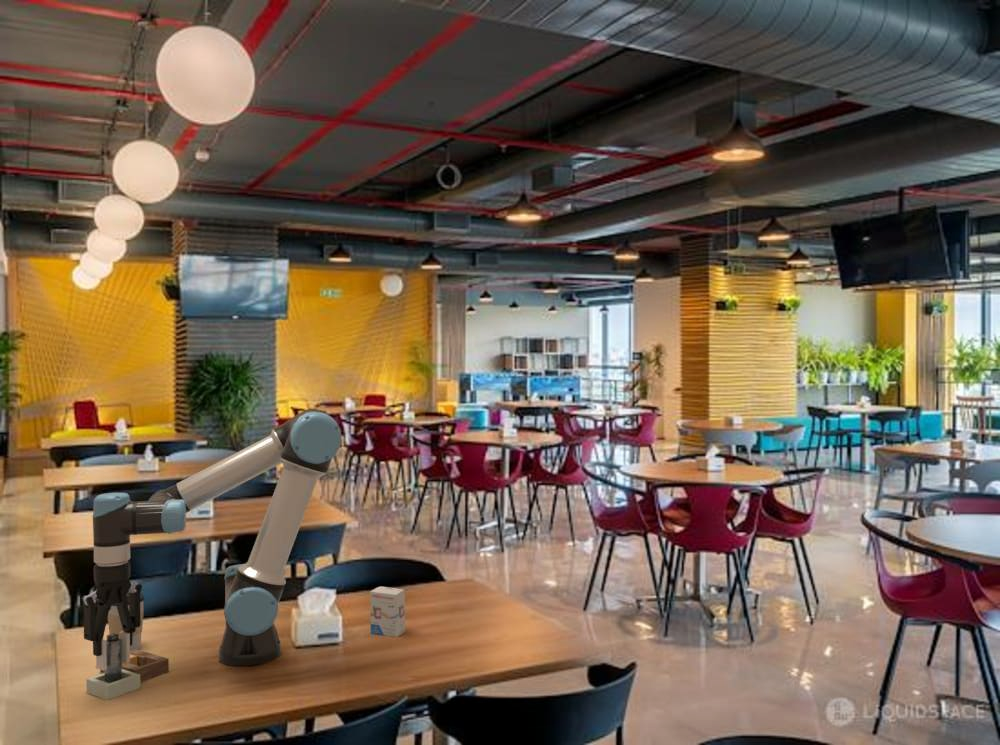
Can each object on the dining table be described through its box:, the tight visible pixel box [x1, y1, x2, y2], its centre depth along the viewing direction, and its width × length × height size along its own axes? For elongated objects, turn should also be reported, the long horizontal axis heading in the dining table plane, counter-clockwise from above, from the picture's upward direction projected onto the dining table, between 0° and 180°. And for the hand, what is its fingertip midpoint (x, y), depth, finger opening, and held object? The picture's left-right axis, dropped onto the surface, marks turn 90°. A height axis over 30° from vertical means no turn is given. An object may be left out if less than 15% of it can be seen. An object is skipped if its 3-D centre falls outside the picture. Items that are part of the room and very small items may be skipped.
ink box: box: [369, 586, 406, 638], centre depth 229 cm, size 9×5×12 cm, turn 68°
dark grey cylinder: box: [104, 634, 122, 683], centre depth 190 cm, size 4×4×12 cm
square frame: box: [85, 669, 141, 701], centre depth 190 cm, size 8×8×3 cm
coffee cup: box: [107, 591, 145, 650], centre depth 217 cm, size 9×9×15 cm
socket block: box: [99, 649, 170, 682], centre depth 201 cm, size 14×9×3 cm, turn 58°
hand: (113, 664), depth 190 cm, fingers open, 5 cm apart
